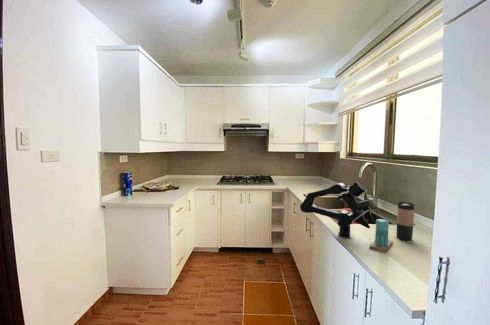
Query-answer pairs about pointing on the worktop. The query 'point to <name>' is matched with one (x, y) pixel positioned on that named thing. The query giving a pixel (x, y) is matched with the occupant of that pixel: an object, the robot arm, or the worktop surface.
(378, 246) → the brown block with knob
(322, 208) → the robot arm
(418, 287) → the worktop surface
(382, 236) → the teal cap
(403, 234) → the travel mug
